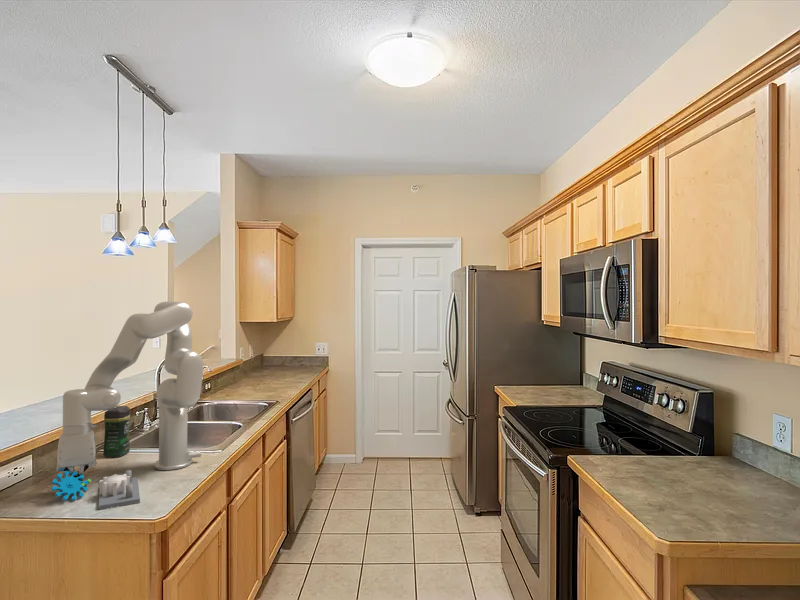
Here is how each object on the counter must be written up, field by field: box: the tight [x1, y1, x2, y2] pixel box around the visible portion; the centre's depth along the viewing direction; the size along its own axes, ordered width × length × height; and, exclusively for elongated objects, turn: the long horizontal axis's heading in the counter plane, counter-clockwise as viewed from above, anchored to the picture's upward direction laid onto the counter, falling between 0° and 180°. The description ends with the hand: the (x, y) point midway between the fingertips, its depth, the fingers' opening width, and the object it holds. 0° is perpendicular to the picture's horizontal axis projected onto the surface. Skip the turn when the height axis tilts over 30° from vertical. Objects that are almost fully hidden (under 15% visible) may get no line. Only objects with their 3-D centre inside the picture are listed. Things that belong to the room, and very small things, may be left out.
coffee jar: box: [103, 405, 131, 459], centre depth 193 cm, size 10×8×19 cm
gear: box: [51, 470, 92, 502], centre depth 152 cm, size 11×6×10 cm
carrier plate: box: [98, 469, 141, 511], centre depth 154 cm, size 11×20×5 cm, turn 30°
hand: (76, 486), depth 156 cm, fingers closed
